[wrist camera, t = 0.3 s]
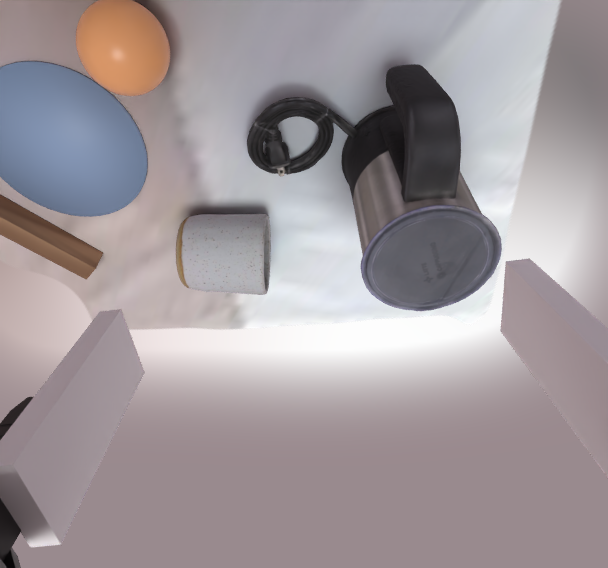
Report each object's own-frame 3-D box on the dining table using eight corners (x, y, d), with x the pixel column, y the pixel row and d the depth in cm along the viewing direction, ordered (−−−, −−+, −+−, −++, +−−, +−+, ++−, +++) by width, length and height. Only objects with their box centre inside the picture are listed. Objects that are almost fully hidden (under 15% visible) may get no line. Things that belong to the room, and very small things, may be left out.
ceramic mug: (182, 199, 43) (166, 251, 37) (268, 197, 43) (265, 249, 37) (200, 280, 50) (189, 333, 45) (274, 278, 50) (272, 331, 45)
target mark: (10, 17, 32) (9, 18, 32) (178, 144, 39) (178, 145, 39) (-52, 150, 39) (-53, 151, 39) (101, 239, 46) (100, 240, 46)
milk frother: (453, 180, 42) (510, 290, 31) (298, 235, 46) (302, 350, 35) (419, 23, 33) (482, 101, 22) (230, 108, 37) (206, 210, 26)
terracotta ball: (118, -34, 30) (89, -16, 26) (193, 34, 33) (178, 61, 29) (77, 37, 33) (45, 64, 29) (150, 95, 36) (130, 127, 32)
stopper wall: (-70, 155, 39) (-88, 169, 37) (103, 252, 47) (95, 268, 45) (-77, 170, 40) (-94, 185, 38) (94, 263, 48) (86, 279, 46)
